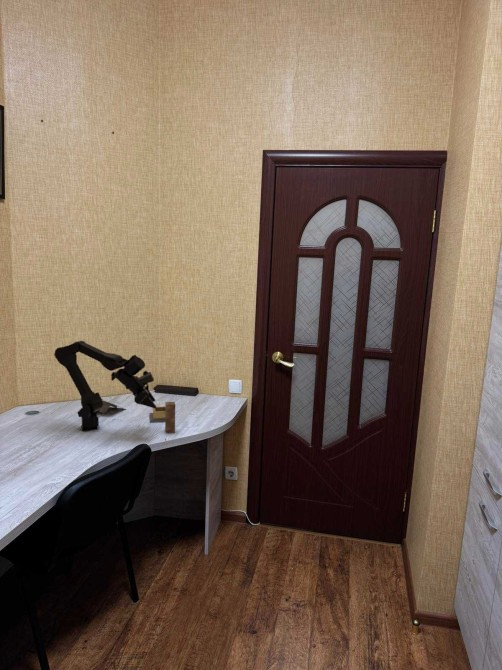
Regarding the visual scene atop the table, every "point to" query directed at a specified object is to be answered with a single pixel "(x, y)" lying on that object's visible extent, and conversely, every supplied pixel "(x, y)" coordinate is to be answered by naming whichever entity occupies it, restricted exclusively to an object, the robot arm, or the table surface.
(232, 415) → the table surface
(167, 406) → the rail post
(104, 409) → the wall
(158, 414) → the gold square frame
